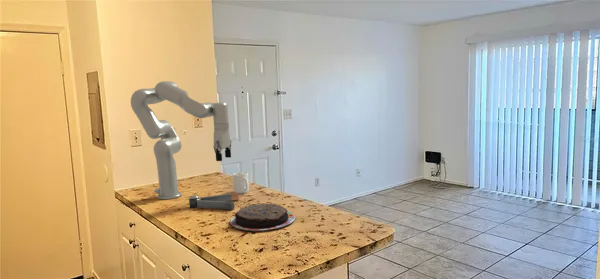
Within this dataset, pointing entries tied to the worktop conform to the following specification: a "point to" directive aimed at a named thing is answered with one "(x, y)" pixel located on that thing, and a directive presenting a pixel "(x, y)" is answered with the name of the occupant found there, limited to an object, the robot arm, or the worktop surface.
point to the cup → (241, 182)
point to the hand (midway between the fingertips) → (223, 159)
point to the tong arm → (218, 197)
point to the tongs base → (211, 204)
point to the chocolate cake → (262, 218)
